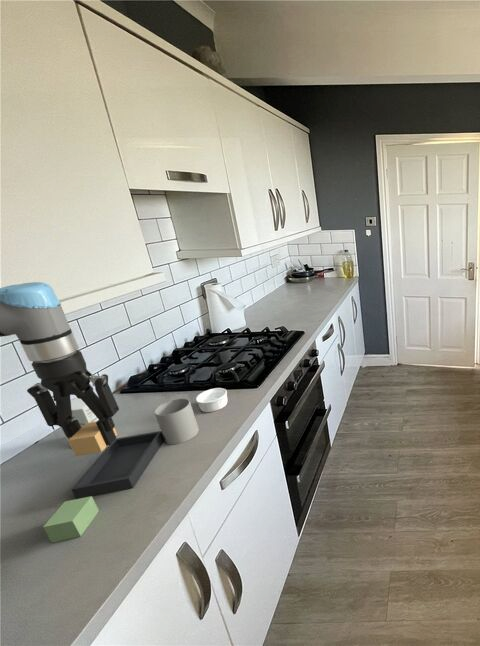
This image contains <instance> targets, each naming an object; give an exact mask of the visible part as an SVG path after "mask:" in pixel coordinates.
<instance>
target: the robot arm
mask: <svg viewBox="0 0 480 646" xmlns="http://www.w3.org/2000/svg"><path fill="white" fill-rule="evenodd" d="M13 335H15V336H16V337H17V339H18V340H19V343H20V345H21V347H22V350H23V351H24V353H25V355H26V358H27V359H28V361H30V362H32V363H31V367H32V368H33V371H34V373H35V375H36V377H37V378H38V379H39V380H40V382H37V383H35V384H33V385H31V386H30V387H29V388H28V389H26V392H27V393H28V394H29V395H30V396H31V397H32V398H33V399H34V401H35V403H36V406H37V407H38V409H39V412H40V413H41V415H42V417H43V419H44V421H45V423H46V425H47V426H48V427H54V426H57V427H60V428H61V427H62V428H61V430H62V429H63V430H62V432H63V431H64V432H63V434H64V433H65V434H64V436H65V435H66V436H67V437H68V438H70V437H72V436H73V435H74V434H75V433H76V432H78V431H79V430H80V429H81V426H80V424H79V422H78V420H73V419H74V418H75V417H72V409H71V399H72V398H71V396H75V398H78V399H81V400H82V401H83V402H84V403H85V404H86V405H87V406H88V408H89V409H90V410H91V411H92V412H93V413H94V414H95V416H96V417H97V418H98V419H99V420H98V421H97V422H96V424H97V426H98V429H99V431H100V433H101V435H102V437H103V439H104V441H105V444H106V446H107V447H108V446H109V445H110V444H111V443H112V442H113V441H114V440H115V439H116V438H117V435H116V436H115V433H114V431H113V428H114V427H115V426H116V425H115V422H114V419H113V417H114V416H115V415H116V414H117V413H118V412H119V410H120V408H119V405H118V402H117V401H116V398H115V396H114V394H113V392H112V390H111V387H110V384H109V375H108V374H106V373H104V374H102V375H95V374H92V372H90V371H89V370H88V369H87V362H86V360H85V357H84V355H83V353H82V351H81V350H79V348H80V347H79V344H78V342H77V340H76V337H75V335H74V333H73V330H72V328H71V327H70V324H69V322H68V319H67V317H66V314H65V311H64V309H63V306H62V303H61V301H60V300H59V298H58V296H57V295H56V293H55V291H54V289H53V287H52V286H51V285H50V284H48V283H46V282H40V281H35V282H33V281H32V282H23V283H19V284H17V283H16V284H10V285H6V286H2V287H0V338H1V337H9V336H13ZM90 383H92V384H90ZM94 389H95V391H94ZM51 392H52V394H51ZM71 420H73V421H71ZM66 436H65V437H66Z"/></svg>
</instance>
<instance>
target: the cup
mask: <svg viewBox="0 0 480 646" xmlns="http://www.w3.org/2000/svg"><path fill="white" fill-rule="evenodd" d="M154 415H155V419H156V421H157V424H158V427H159V429H160V431H161V432H162V434H163V437H164V442H165V443H166V444H167V445H178V444H179V445H180V444H182V443H185V442H187V441H190V440H191V439H192V438H194V437H196V436H197V434H198V433H199V430H200V428H199V424H198V422H197V419H196V416H195V413H194V410H193V407H192V404H191V400H189V399H188V398H176V399H175V398H174V399H171V400H169V401H166V402H164V403H162V404H160V405H159V406H157V407H156V408H155V409H154Z"/></svg>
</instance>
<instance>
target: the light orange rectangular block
mask: <svg viewBox="0 0 480 646" xmlns="http://www.w3.org/2000/svg"><path fill="white" fill-rule="evenodd" d="M96 422H97V421H96ZM96 422H90V423H86V424H85V425H84V426H83V427H82V428H81V429H80V430H79V431H78V432H76V433H75V434H74V435H73V436H72V437H71V438H70V439H69V440H68V441H67V442H69V443H68V445H69V444H70V445H69V447H70V446H71V447H70V448H71V449H72V451H73V453H74V456H75V457H80V456H86V455H87V456H88V455H92V454H98V453H103V452H104V451H105V450H106V448H107V447H108V445H107V446H106V444H105V441H104V439H103V437H102V435H101V433H100V431H99V429H98V426H97V424H96ZM113 431H114V433H115V436H116V437H117V436H118V432H117V430H116V428H115V427H114V428H113Z"/></svg>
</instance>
